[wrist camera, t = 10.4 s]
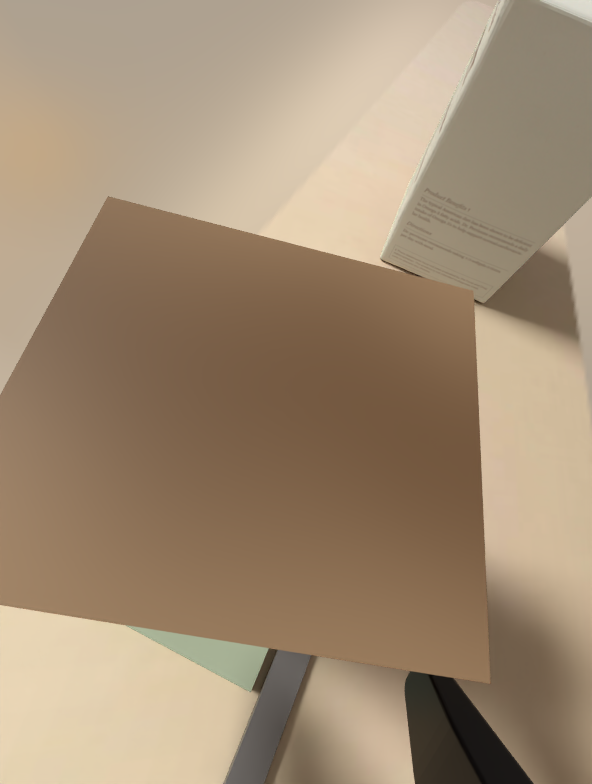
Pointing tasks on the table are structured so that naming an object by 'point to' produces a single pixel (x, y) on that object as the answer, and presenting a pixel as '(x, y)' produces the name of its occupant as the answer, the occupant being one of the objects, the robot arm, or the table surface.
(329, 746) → the table surface
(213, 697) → the table surface
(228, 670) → the mat
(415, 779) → the robot arm
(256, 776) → the charcoal strip
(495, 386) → the table surface
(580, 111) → the supplement box
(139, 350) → the walnut post
